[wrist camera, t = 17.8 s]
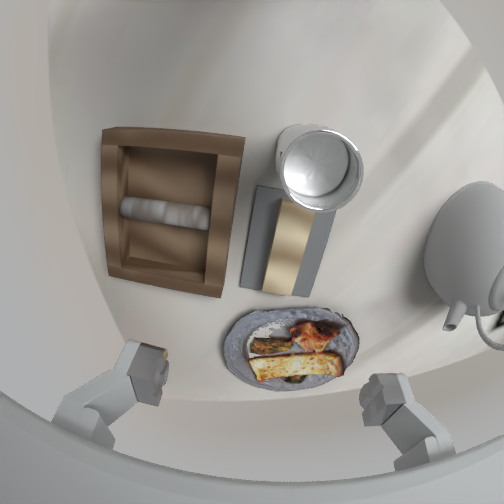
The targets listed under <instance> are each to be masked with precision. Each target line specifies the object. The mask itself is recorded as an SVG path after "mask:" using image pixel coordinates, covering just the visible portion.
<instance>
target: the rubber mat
mask: <svg viewBox="0 0 504 504" xmlns="http://www.w3.org/2000/svg"><path fill="white" fill-rule="evenodd" d="M281 198H287V199H290V198H289V197H288V195H287V194H286V192H285V191H284V190H281V189H276V188H270V187H265V186H259V185H257V191H256V197H255V202H254V208H253V214H252V220H251V225H250V231H249V237H248V243H247V249H246V254H245V260H244V266H243V272H242V278H241V284H240V287H244V288H250V289H257V290H262V283H263V279H264V274H265V270H266V266H267V261H268V257H269V252H270V248H271V244H272V239H273V235H274V230H275V226H276V221H277V217H278V212H279V208H280V203H281ZM335 214H336V210H334V211H331V212H323V213H320V212H315V215H314V219H313V222H312V226H311V230H310V233H309V237H308V240H307V244H306V247H305V251H304V254H303V258H302V261H301V265H300V268H299V271H298V275H297V278H296V281H295V284H294V288H293V291H292V294H291V295H296V296H303V297H309V296H310V293H311V290H312V287H313V284H314V281H315V278H316V275H317V272H318V269H319V266H320V263H321V260H322V257H323V254H324V250H325V247H326V244H327V241H328V237H329V234H330V231H331V227H332V224H333V220H334V217H335Z"/></svg>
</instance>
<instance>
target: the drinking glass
mask: <svg viewBox="0 0 504 504" xmlns="http://www.w3.org/2000/svg"><path fill="white" fill-rule="evenodd" d="M275 165H276V171H277V174H278V177H279V180H280V182H281V184H282V186H283V189H284V191H285V192H286V194H287V195H288V197H289V198H290V199H291V200H292V201H293V202H294V203H295V204H297V205H298V206H300V207H301V208H303V209H306V210H309V211H312V212H320V213H323V212H331V211H334V210H337V209H340V208H342V207H343V206H345V205H346V204H348V203H349V202H350V201H351V200H352V199H353V198H354V197H355V195H356V194H357V192H358V191H359V189H360V186H361V184H362V180H363V171H364V170H363V162H362V158H361V156H360V153H359V151H358V150H357V148H356V147H355V145H354V144H353V143H352V142H351V141H350V140H349V139H348V138H346V137H345V136H343V135H341V134H340V133H338V132H337V131H335V130H333V129H331V128H329V127H326V126H323V125H317V124H306V125H305V124H296V125H292V126H290V127H288V128H286V129H285V130H284V131H283V132H282V133H281V135H280V136H279V138H278V141H277V150H276V156H275Z"/></svg>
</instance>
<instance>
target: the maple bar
mask: <svg viewBox="0 0 504 504" xmlns="http://www.w3.org/2000/svg"><path fill="white" fill-rule="evenodd" d="M314 215H315V212H312V211H309V210H306V209H303V208H301V207H300V206H298V205H297V204H295V203H294V202H293V201H292V200H291V199H287V198H281V203H280V208H279V212H278V217H277V221H276V226H275V230H274V235H273V239H272V244H271V248H270V252H269V257H268V261H267V266H266V270H265V274H264V279H263V283H262V292H267V293H273V294H279V295H286V296H291V294H292V291H293V288H294V284H295V281H296V278H297V275H298V271H299V268H300V265H301V261H302V258H303V254H304V251H305V247H306V244H307V240H308V237H309V233H310V230H311V226H312V222H313V219H314Z"/></svg>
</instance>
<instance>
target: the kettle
mask: <svg viewBox="0 0 504 504" xmlns="http://www.w3.org/2000/svg"><path fill="white" fill-rule="evenodd" d="M424 271H425V275H426V278H427V280H428V282H429V284H430V285H431V287H432V288H433V289H434V290H435V291H436V293H437V294H438V295H439V296H440V298H441V299H442V300H443V301H444V302H445V303H446V304H448V305H449V306H450V309H449V312H448V315H447V318H446V321H445V323H444V326H443V330H445V331H452V330H454V329H456V327H457V326H458V324H459V322H460V321H461V319H462V317H463V316H464V314H466V315H470V316H475V317H476V325H477V329H478V332H479V334H480V336H481V338H482V339H483V341H484V342H485V343H486V344H487V345H489V346H490V347H492V348H493V349H496V350H502V351H504V345H501V344H497V343H495V342H493V341H491V340H490V339H489V338H488V337H487V336H486V334H485V333H484V331H483V328H482V325H481V319H480V316H489V315H493V314H496V313H499V312H501V311H503V310H504V191H503V190H502V189H500V188H499V187H497V186H496V185H494V184H492V183H489V182H484V181H479V182H474V183H471V184H468V185H466V186H464V187H462V188H461V189H459V190H458V191H457V192H456V193H454V194H453V195H452V196H451V197H450V198H449V199H448V201H447V202H446V203H445V204H444V205H443V207H442V208H441V210H440V211H439V213H438V214H437V216H436V218H435V220H434V222H433V224H432V226H431V228H430V231H429V234H428V237H427V240H426V244H425V249H424Z"/></svg>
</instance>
